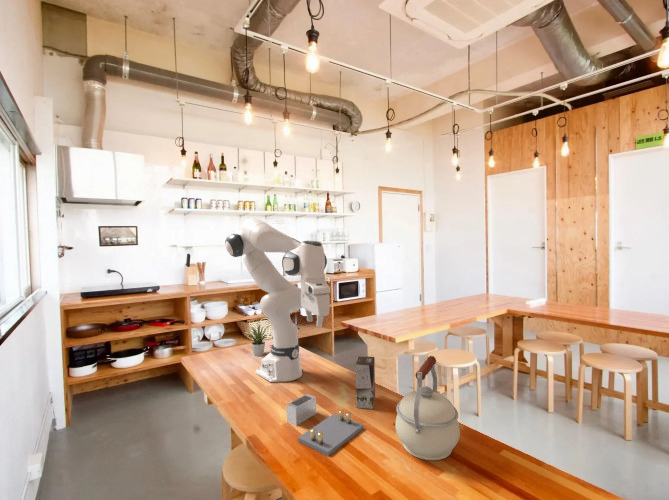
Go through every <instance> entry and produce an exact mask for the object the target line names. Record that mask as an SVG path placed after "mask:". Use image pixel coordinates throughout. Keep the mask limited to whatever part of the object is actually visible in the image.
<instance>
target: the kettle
mask: <svg viewBox="0 0 669 500" xmlns="http://www.w3.org/2000/svg"><path fill="white" fill-rule="evenodd" d="M436 363H437V358H436V357H435V356H434V355H429V356H427V359H426V360H424V362H423V364H422V365H421V366H420V368H419V370H417V371H416V373H415V378H416V380H417V381H416V382H417V383H416V390H415V391H411V392H409V393H407V394H405V395H404V396H403V397H402V398H401V400H400V401H399V402H398V403H397V405H396V409H395V411H396V413H397V414H396V417H395V427H394V428H395V432H396V435H397V437H398V438H399V440H400V441H401V442H402V446H403V447H404V449H405V450H406V452H408V453H409V454H410V455H411V456H413V457H416V458H417V459H421V460H425V461H440V460H443V459H446V458H447V457H449V456H450V455H451V453H452V451H453V449H454V448H455V447H456V445H458V442H459V441H460V435H461V432H460V431H461V430H460V425H459V421H458V419H459V411H458V410H457V408H456V407H455V406H454V405H453V403H452V401H450V399H448V398H447V397H446V396H444V395H442V394H441V392H440V391H439V390H438V376H437V371H436V368H435V366H436ZM429 372H431V376H432V388H431V387H429V386H427V385H426V386H423V381H424V380H425V379H426V376H427V375H428V374H429Z"/></svg>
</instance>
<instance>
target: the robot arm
mask: <svg viewBox="0 0 669 500" xmlns="http://www.w3.org/2000/svg"><path fill="white" fill-rule="evenodd" d="M224 244H225V249H226V251H227V253H228V254H229V255H230V256H232V257H233V258H239V257H242V256H243V262H244V265H245V267H246V269H247V271H248V272H249V274H250V277H252V279H253V280H254V281H255V283H256V284H257V286H258V288H259V289H261V290H262V291H263V292H267V294H265V295H263V296H262V297H261V299H260V302H259V308H260V312H261V313H262V315H264V316H265V317H266V318H267V319H268V320H269V322H270V325H271V330H272V341H273V342H272V344H271V345H269V348H268V349H271V350H270V352H269V353H268V354H266V356H264V357H263V358H262V359H261V361H260V367H259V368H257V369H256V370H255V374H256V375H258V376H259V377H262V378H263V379H265V380H266V381H268V382H270V383H278V382H292V381H296V380H298V379H300V378H302V377H303V372H302V371H303V367H302V366H301V358H300V343H299V335H298V334H299V333H298V331H299V330H298V326H297V324H296V323H294V322H293V320H292V318H291V313H294V312H297V311H299V310H300V309H302V308H303V309H304V310H305V315H306V321H307V322H308V323H310V322H313V319H314V318H313V315H315V316H316V321H315V326H316V328H319V329H320V328H323V322H324V318H325V317H328V316H329V314H330V309H331V301H330V293H331V287H330V286H329V284H328V283H327V281H326V275H325V269H326V268H327V264H328V259H327V256H326V254H325V249H324V246H323V244H322V243H321V242H320V241H316V240H304V241H302V242H301V241H300V240H297V239H295V238H294V237H291V236H289V235H287V234H285V233H283V232H282V231H279V230H278V229H276V228H275V227H272V226H271V224H270V225H269V223H267V222H265V221H263V220H261V219H258V218H255V217H250V218H248V219H246V220H245V221H243V223H242V225H241V230H238V231H237V232H235V233H231V234H230V235H228V236H227V237H226V239H225V241H224ZM266 253H282V254H283V253H284V255H283V257H282V260H281V265H282V270H283V271H284V272H285V274H286V275H288V276H291V277H292V276H293V277H295V276H296V277H297V276H300V287H298V286H296V285H295V284H294V283H291V282H290V281H289V280H287V278H285V277H284V276H283V275H282V274H281V273H280V272H279V271H278V269H277V267H275V265H274V264H273V262H272V261H271V259H269V257H268V256H267V255H266ZM312 314H313V315H312Z"/></svg>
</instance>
